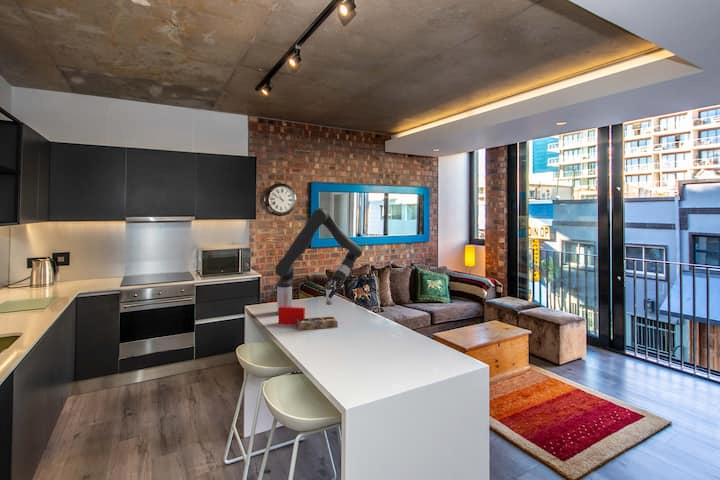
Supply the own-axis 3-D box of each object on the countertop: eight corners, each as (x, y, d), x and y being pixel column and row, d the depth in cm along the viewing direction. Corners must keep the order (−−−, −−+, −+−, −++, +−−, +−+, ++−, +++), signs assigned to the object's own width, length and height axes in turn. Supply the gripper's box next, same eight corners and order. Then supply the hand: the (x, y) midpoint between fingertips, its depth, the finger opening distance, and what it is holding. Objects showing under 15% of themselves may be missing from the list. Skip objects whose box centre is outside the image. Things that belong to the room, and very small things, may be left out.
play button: (304, 324, 219) (304, 307, 218) (303, 326, 216) (303, 309, 215) (280, 322, 221) (280, 306, 220) (278, 324, 218) (278, 307, 217)
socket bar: (299, 330, 207) (299, 322, 207) (296, 324, 216) (296, 317, 216) (337, 327, 214) (337, 320, 214) (333, 322, 223) (333, 315, 223)
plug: (324, 303, 219) (324, 284, 219) (331, 302, 221) (332, 284, 220) (326, 305, 215) (326, 286, 214) (333, 304, 217) (334, 285, 216)
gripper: (330, 268, 227) (314, 291, 219) (347, 271, 218) (332, 294, 209) (336, 276, 231) (321, 298, 223) (353, 279, 222) (338, 302, 214)
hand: (326, 296), depth 216 cm, fingers closed on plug, 4 cm apart
